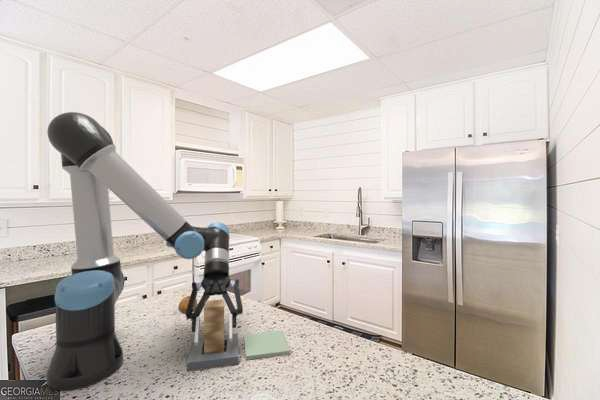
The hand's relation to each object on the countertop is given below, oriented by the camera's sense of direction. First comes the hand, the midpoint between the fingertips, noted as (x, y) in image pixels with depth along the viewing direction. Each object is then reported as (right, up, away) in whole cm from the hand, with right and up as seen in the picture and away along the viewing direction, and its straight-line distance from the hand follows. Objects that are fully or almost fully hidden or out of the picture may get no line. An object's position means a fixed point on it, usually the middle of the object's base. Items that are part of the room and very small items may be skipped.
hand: (213, 342), depth 75 cm
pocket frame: (-1, -5, +3) cm, 6 cm away
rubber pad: (+13, -5, +8) cm, 16 cm away
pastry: (-20, -5, +35) cm, 41 cm away
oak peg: (-1, -5, +3) cm, 6 cm away
